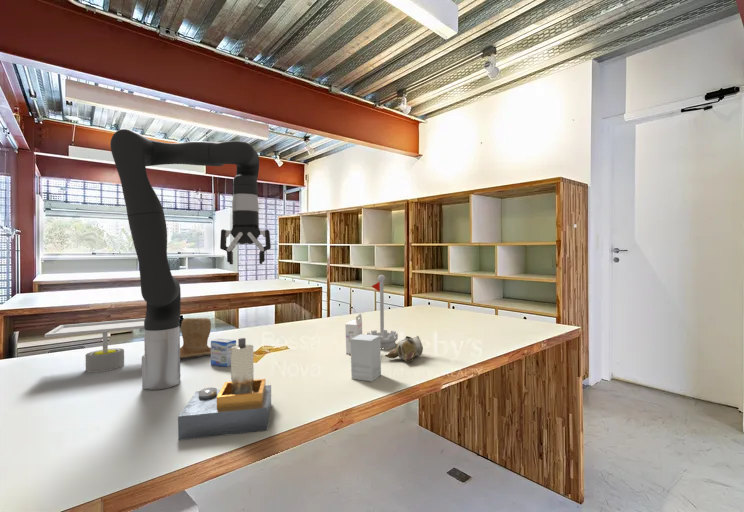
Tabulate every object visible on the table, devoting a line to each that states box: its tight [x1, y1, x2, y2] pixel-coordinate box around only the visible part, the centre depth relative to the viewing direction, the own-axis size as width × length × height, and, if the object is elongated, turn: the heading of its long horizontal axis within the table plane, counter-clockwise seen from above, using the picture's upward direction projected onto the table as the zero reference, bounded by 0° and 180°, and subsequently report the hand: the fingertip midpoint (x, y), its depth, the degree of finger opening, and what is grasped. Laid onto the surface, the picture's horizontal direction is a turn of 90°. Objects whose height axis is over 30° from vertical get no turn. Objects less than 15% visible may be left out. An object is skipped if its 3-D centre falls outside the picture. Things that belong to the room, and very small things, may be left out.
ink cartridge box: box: [345, 313, 363, 355], centre depth 142 cm, size 9×5×15 cm, turn 168°
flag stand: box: [366, 274, 399, 349], centre depth 151 cm, size 13×13×30 cm
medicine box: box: [210, 338, 237, 368], centre depth 127 cm, size 8×4×9 cm, turn 68°
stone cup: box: [180, 317, 212, 360], centre depth 138 cm, size 15×12×15 cm
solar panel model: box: [44, 317, 145, 373], centre depth 125 cm, size 28×17×15 cm, turn 118°
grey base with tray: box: [177, 378, 272, 441], centre depth 84 cm, size 18×14×8 cm
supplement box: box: [350, 333, 382, 382], centre depth 112 cm, size 7×7×13 cm
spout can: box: [230, 337, 255, 395], centre depth 84 cm, size 5×5×14 cm
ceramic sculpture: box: [384, 335, 424, 363], centre depth 131 cm, size 11×9×15 cm
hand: (246, 264), depth 108 cm, fingers open, 8 cm apart
